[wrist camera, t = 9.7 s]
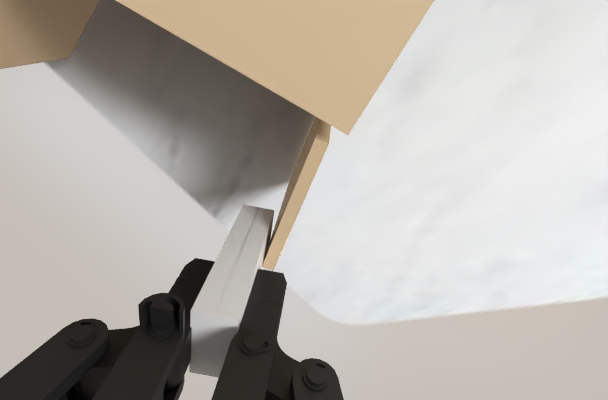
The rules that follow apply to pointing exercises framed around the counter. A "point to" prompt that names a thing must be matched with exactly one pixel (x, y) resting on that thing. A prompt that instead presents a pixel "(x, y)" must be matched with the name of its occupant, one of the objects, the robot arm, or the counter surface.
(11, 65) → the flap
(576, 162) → the counter surface
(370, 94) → the carton
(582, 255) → the counter surface
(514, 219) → the counter surface
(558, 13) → the counter surface
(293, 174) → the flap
